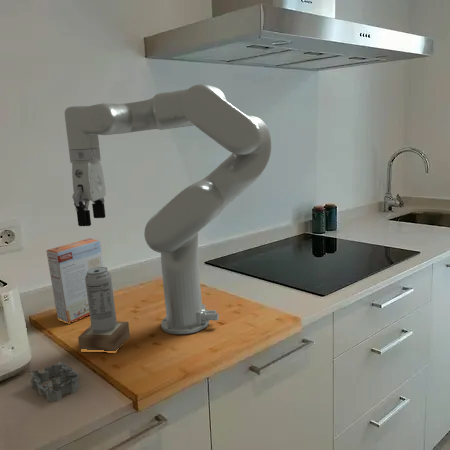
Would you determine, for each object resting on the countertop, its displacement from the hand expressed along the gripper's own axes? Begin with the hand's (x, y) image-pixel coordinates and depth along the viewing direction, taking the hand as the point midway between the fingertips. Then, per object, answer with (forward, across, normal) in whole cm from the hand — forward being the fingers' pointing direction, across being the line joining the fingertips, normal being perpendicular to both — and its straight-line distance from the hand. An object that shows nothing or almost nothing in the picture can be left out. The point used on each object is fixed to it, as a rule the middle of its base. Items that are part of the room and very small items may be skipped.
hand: (92, 221), depth 125 cm
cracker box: (+28, +5, +8) cm, 30 cm away
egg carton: (+28, -33, -2) cm, 43 cm away
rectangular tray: (+28, -14, -6) cm, 32 cm away
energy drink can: (+24, -13, -6) cm, 28 cm away
